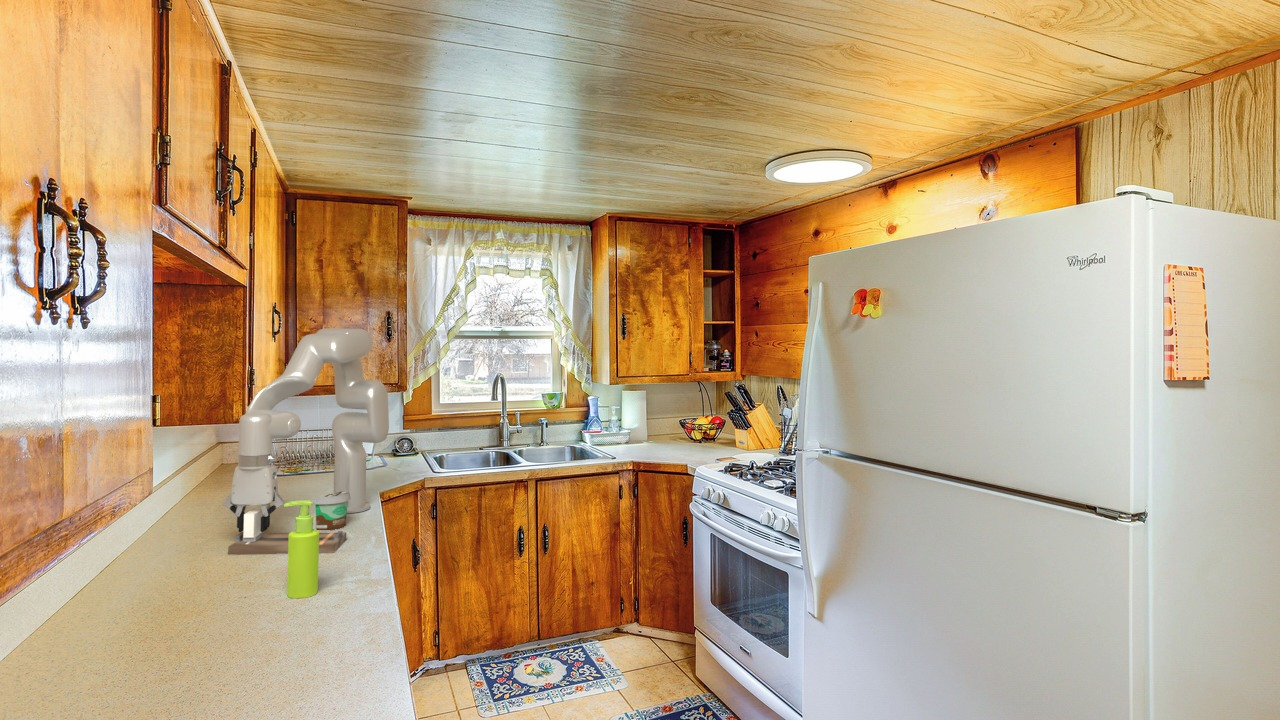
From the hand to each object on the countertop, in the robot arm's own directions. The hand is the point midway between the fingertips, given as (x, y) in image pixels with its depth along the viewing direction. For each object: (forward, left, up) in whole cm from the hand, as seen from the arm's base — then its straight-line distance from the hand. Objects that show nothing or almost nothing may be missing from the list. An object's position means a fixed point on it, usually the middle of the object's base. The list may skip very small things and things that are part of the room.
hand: (253, 529), depth 173 cm
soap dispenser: (+35, +23, -5) cm, 42 cm away
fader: (0, 0, -2) cm, 2 cm away
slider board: (0, +9, -5) cm, 10 cm away
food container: (-19, +16, -5) cm, 25 cm away
